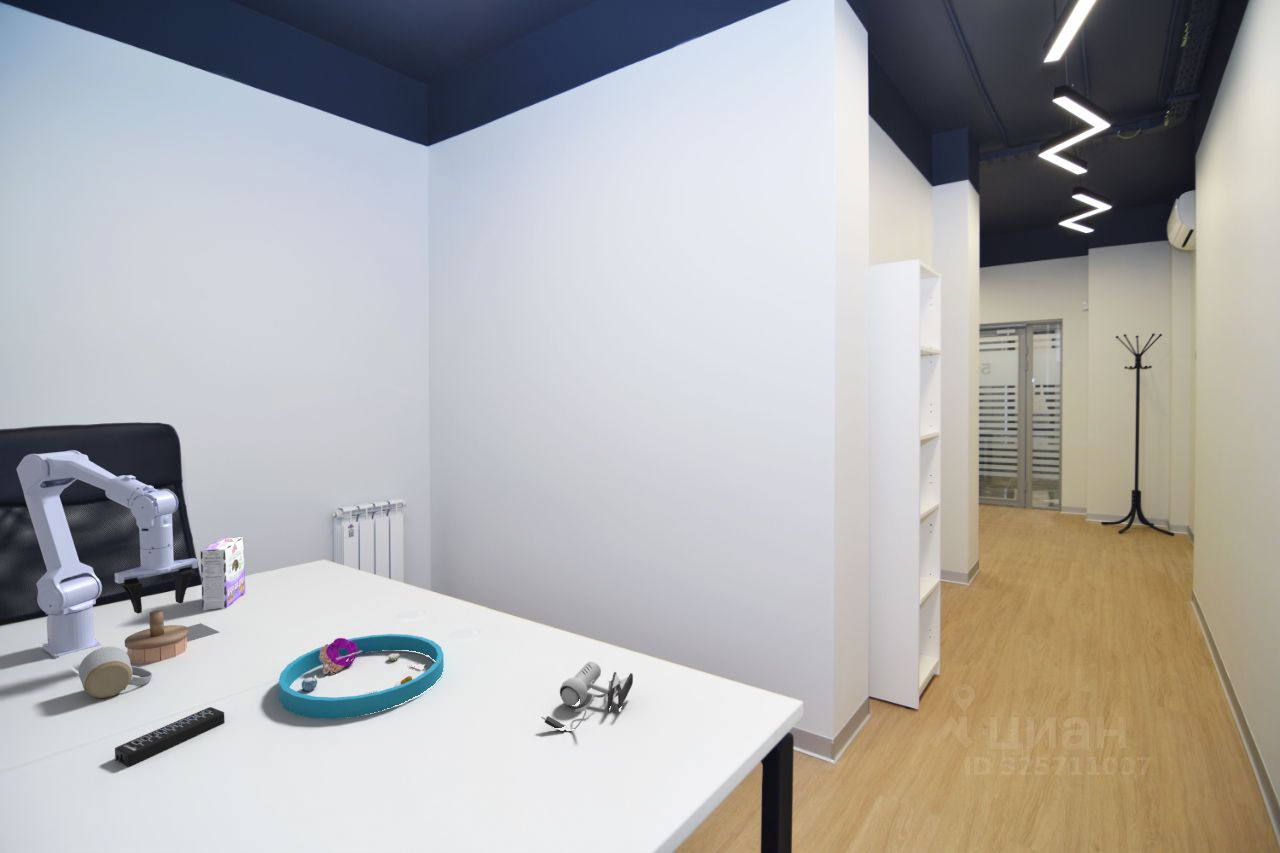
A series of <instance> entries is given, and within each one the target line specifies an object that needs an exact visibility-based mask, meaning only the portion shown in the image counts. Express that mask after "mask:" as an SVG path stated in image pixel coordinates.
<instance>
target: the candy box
mask: <svg viewBox="0 0 1280 853" xmlns="http://www.w3.org/2000/svg"><path fill="white" fill-rule="evenodd" d="M244 547H245V546H244V537H243V536H239V537H237V536H236V537H221V538H219V539H218V540H216V541H214V542H213V543H212V544H209V545H208V546H206V547H205V548H203V549H200V573H201V574H200V575H201V576H200V577H201V579H200V580H201V603H202V604H201V606H202V608H201V609H202V611H210V610H211V611H213V610H226V609H228V608H229V607H230V606H231V605H232V604H234V603H235V602H236V601H237V600H238V599H239V598H241V597H243V595H244V594H246V575H245V549H244Z"/></svg>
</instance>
